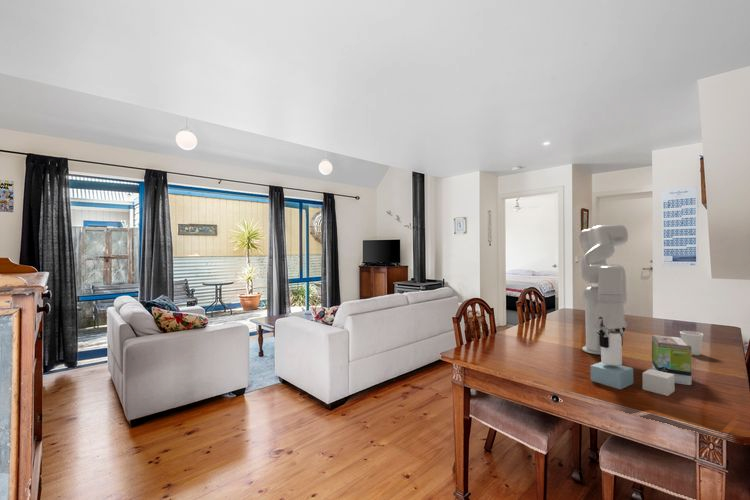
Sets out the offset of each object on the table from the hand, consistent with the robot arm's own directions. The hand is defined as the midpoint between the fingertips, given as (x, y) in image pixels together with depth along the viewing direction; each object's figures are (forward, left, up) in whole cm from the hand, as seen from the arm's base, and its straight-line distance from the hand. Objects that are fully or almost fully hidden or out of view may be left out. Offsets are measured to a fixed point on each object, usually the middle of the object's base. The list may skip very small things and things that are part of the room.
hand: (611, 345), depth 129 cm
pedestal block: (0, 0, -14) cm, 14 cm away
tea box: (-26, +4, -14) cm, 30 cm away
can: (0, 0, -7) cm, 7 cm away
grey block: (-8, +11, -14) cm, 19 cm away
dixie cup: (-69, -13, -14) cm, 71 cm away
